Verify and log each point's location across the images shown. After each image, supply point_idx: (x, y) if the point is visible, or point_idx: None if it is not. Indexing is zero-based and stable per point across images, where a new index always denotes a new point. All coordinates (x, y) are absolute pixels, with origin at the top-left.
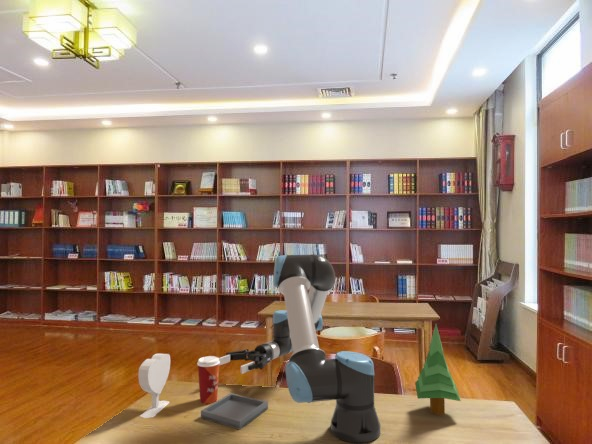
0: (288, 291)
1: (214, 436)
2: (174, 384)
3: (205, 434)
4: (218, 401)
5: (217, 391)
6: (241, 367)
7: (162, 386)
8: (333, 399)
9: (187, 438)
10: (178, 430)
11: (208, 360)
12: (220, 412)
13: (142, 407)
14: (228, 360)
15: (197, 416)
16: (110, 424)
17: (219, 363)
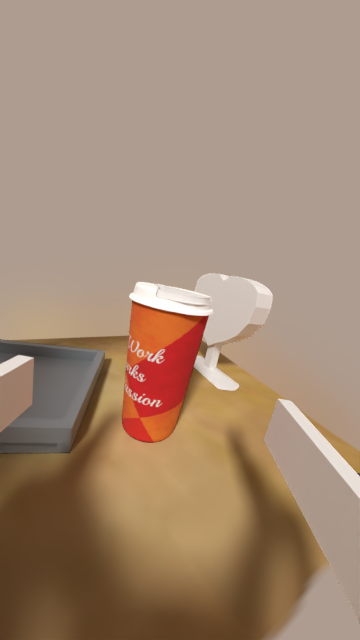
0: None
1: (43, 341)
2: (348, 462)
3: (63, 342)
4: (87, 377)
5: (126, 403)
6: (22, 361)
7: (216, 338)
8: None
9: (87, 337)
10: (115, 344)
11: (164, 286)
12: (62, 370)
13: (228, 369)
14: (352, 574)
15: (115, 367)
16: (205, 344)
17: (274, 439)
